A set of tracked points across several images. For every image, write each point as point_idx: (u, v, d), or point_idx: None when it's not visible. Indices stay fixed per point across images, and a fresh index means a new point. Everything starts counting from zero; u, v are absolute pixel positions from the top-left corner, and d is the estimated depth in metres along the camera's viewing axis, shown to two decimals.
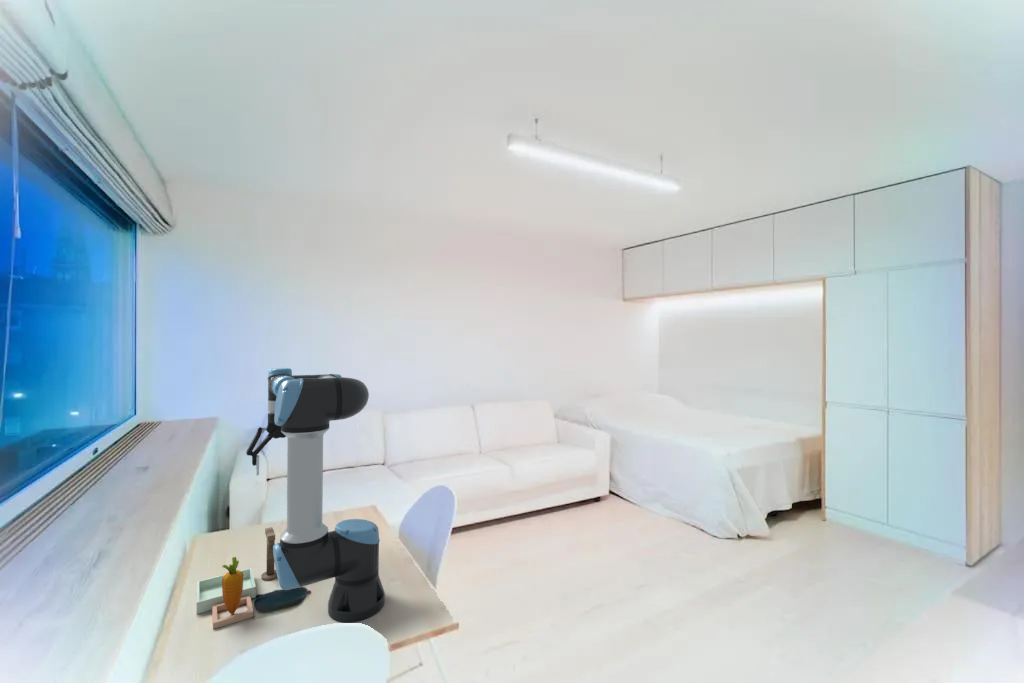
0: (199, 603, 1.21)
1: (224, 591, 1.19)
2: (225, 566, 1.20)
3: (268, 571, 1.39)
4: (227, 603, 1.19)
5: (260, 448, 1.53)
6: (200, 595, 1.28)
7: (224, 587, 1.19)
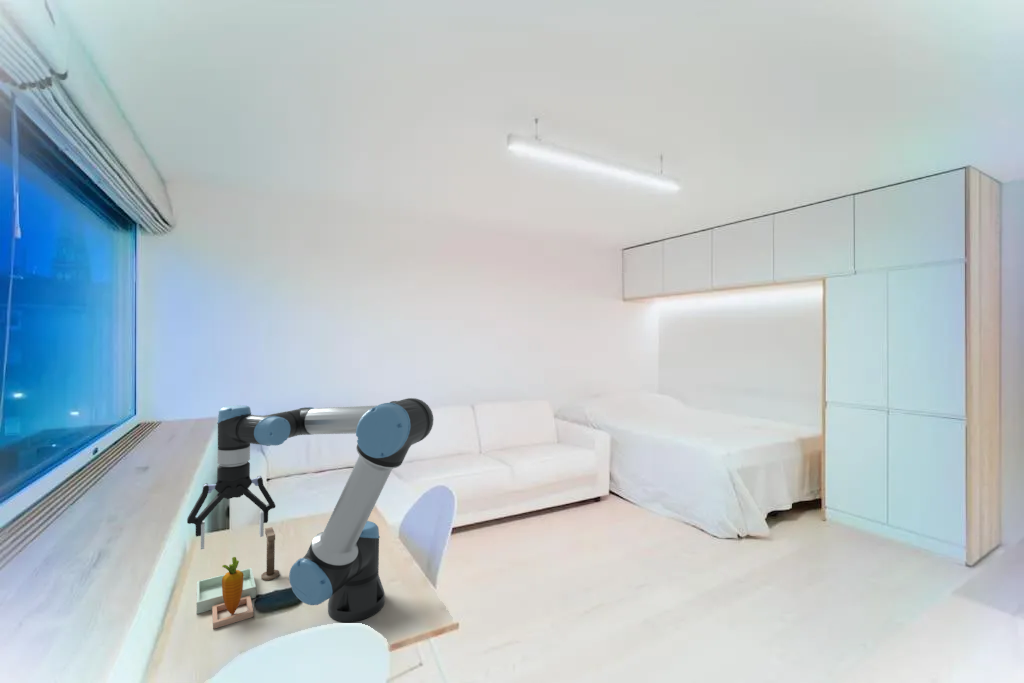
0: (199, 603, 1.21)
1: (224, 591, 1.19)
2: (225, 566, 1.20)
3: (268, 571, 1.39)
4: (227, 603, 1.19)
5: (206, 513, 1.17)
6: (200, 595, 1.28)
7: (224, 587, 1.19)
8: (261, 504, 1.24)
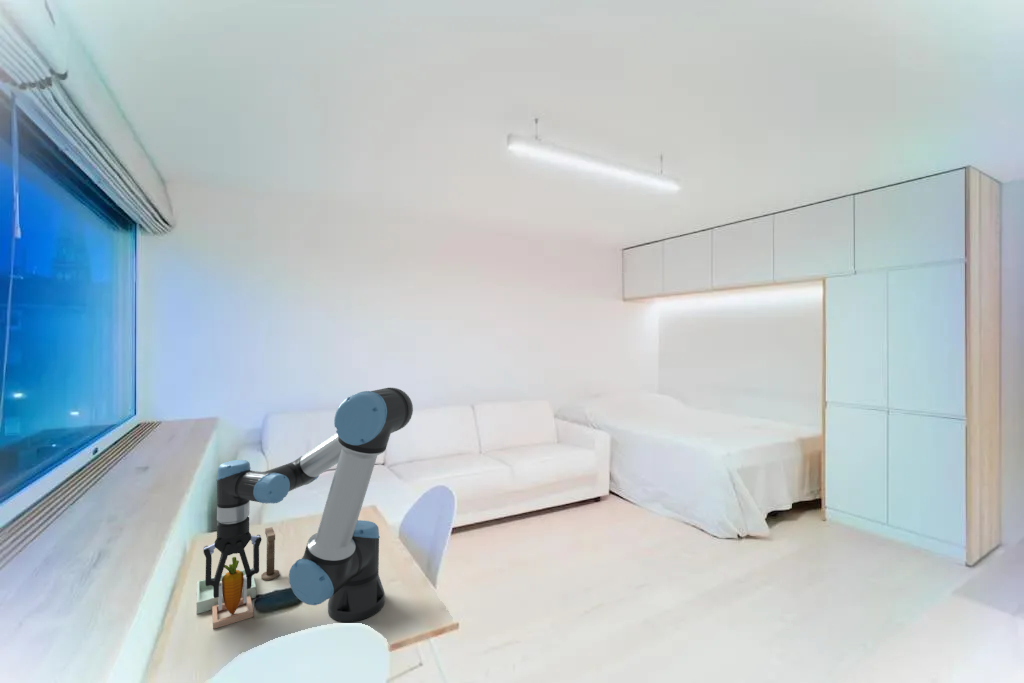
0: (199, 603, 1.21)
1: (224, 591, 1.19)
2: (225, 566, 1.20)
3: (268, 571, 1.39)
4: (227, 603, 1.19)
5: (219, 574, 1.18)
6: (200, 595, 1.28)
7: (224, 587, 1.19)
8: (248, 568, 1.22)
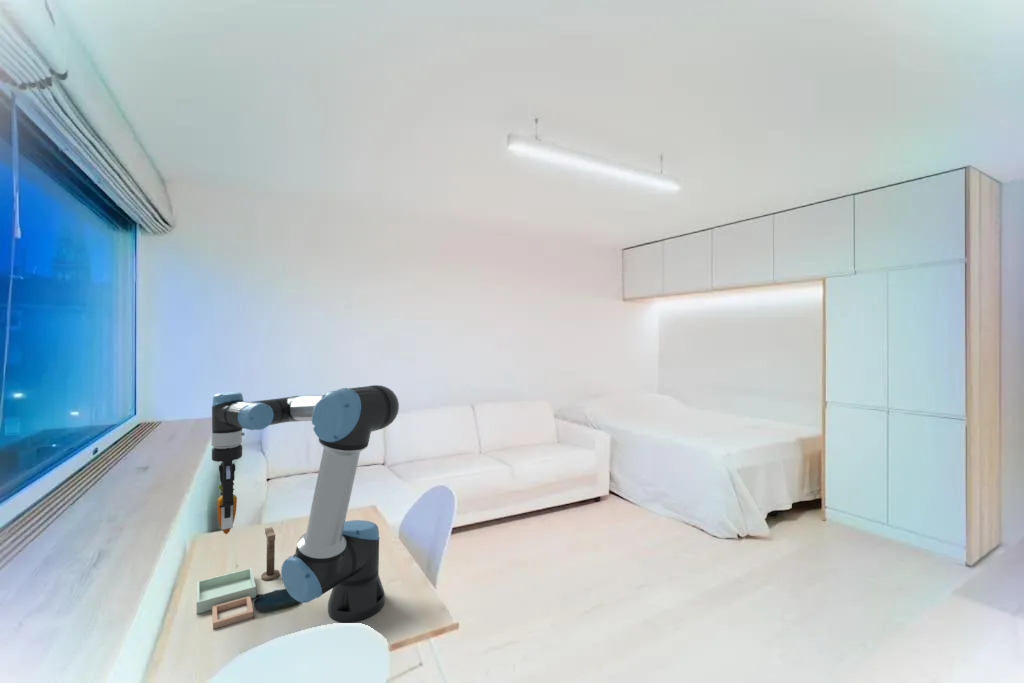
0: (199, 603, 1.21)
1: None
2: None
3: (268, 571, 1.39)
4: None
5: None
6: (200, 595, 1.28)
7: None
8: (222, 497, 1.27)
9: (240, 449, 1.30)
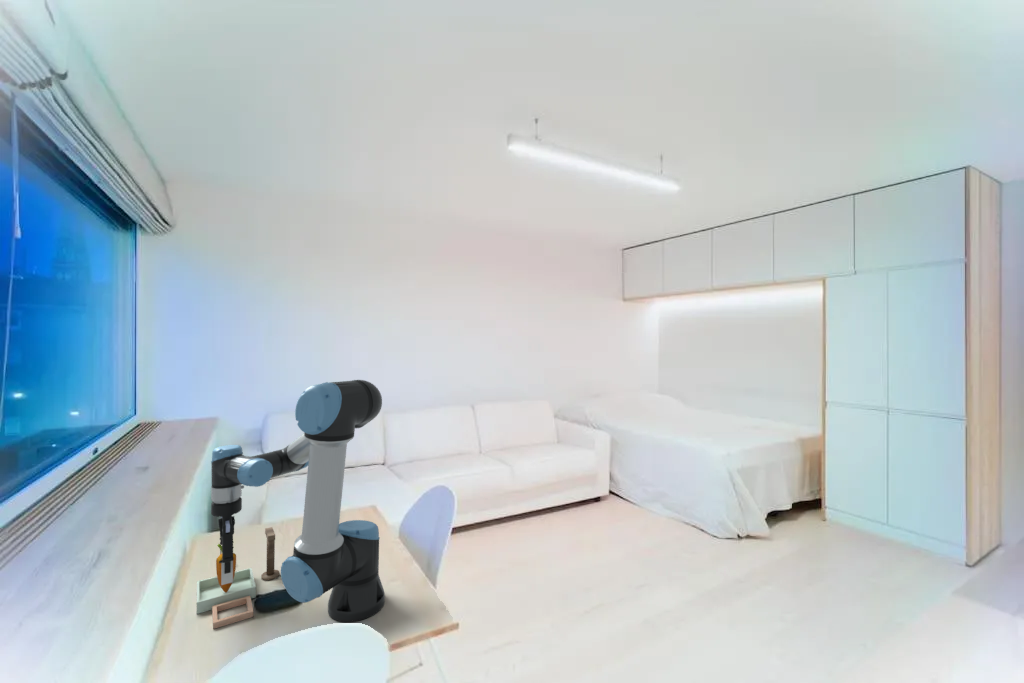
0: (199, 603, 1.21)
1: None
2: None
3: (268, 571, 1.39)
4: None
5: (220, 537, 1.34)
6: (200, 595, 1.28)
7: None
8: (222, 552, 1.25)
9: (240, 503, 1.30)
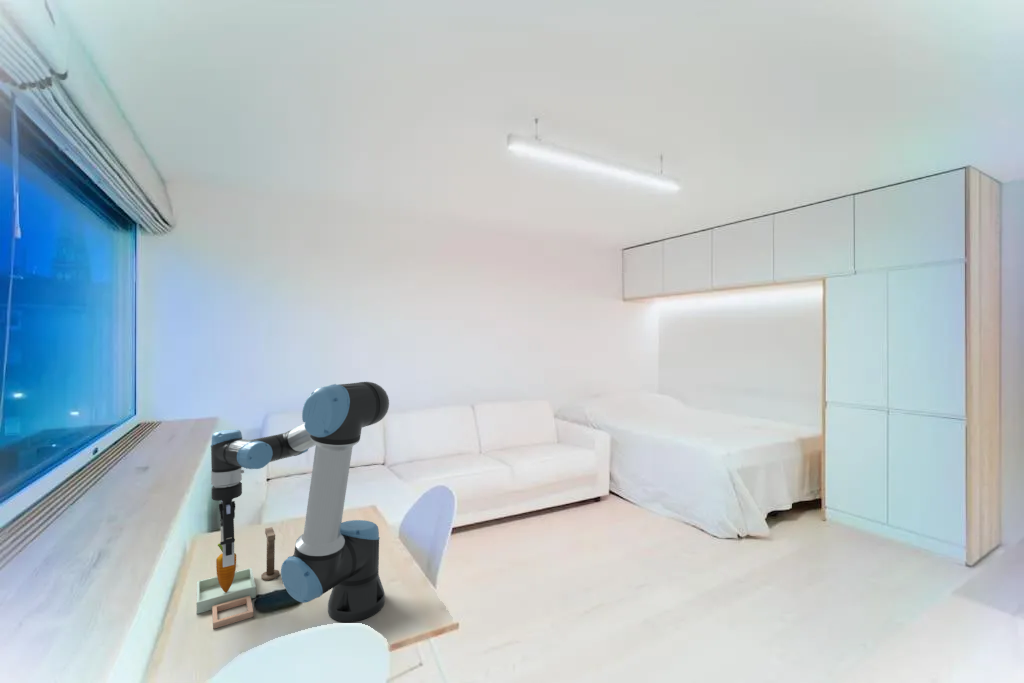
0: (199, 603, 1.21)
1: None
2: None
3: (268, 571, 1.39)
4: None
5: None
6: (200, 595, 1.28)
7: None
8: (223, 534, 1.24)
9: (240, 487, 1.30)
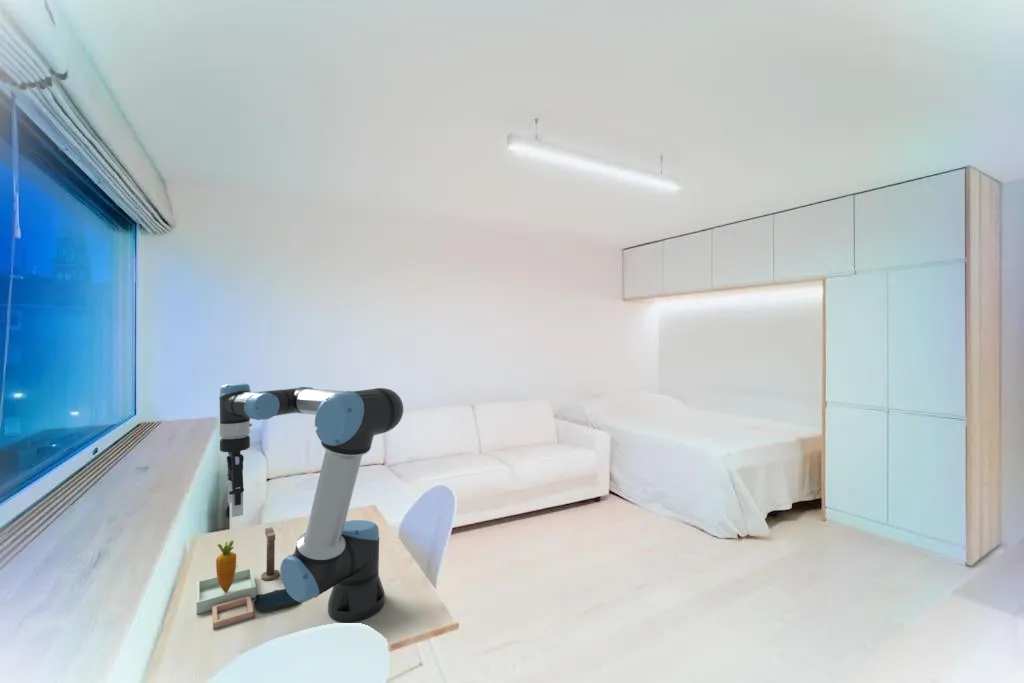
0: (199, 603, 1.21)
1: None
2: (225, 544, 1.32)
3: (268, 571, 1.39)
4: None
5: (228, 473, 1.35)
6: (200, 595, 1.28)
7: None
8: (232, 484, 1.24)
9: (248, 440, 1.31)
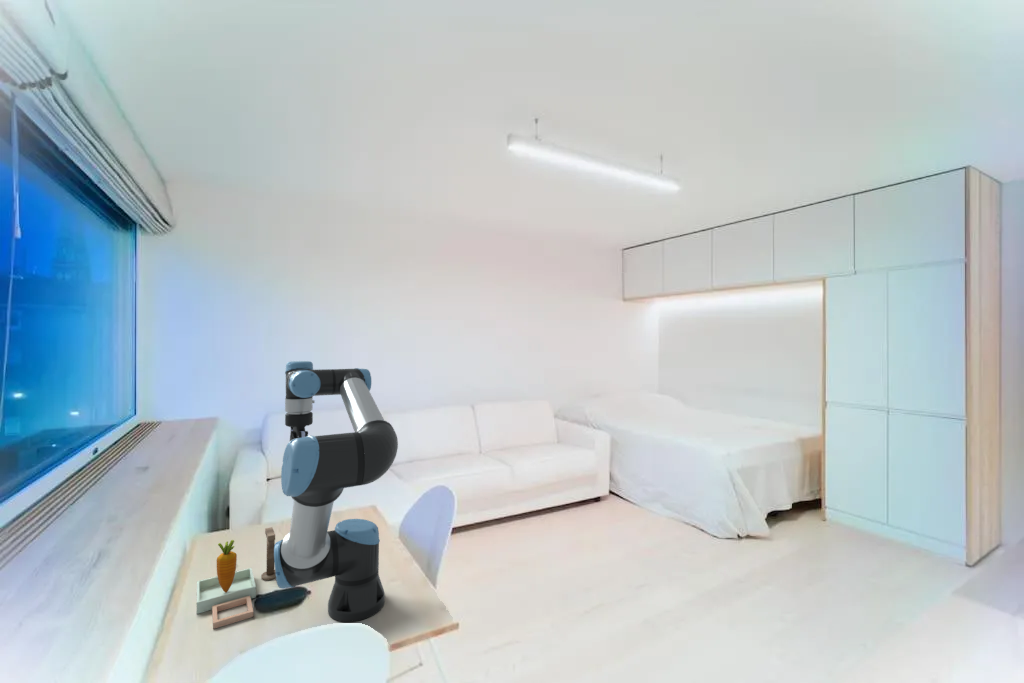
0: (199, 603, 1.21)
1: None
2: (225, 543, 1.32)
3: (268, 571, 1.39)
4: None
5: None
6: (200, 595, 1.28)
7: None
8: None
9: (311, 416, 1.35)
